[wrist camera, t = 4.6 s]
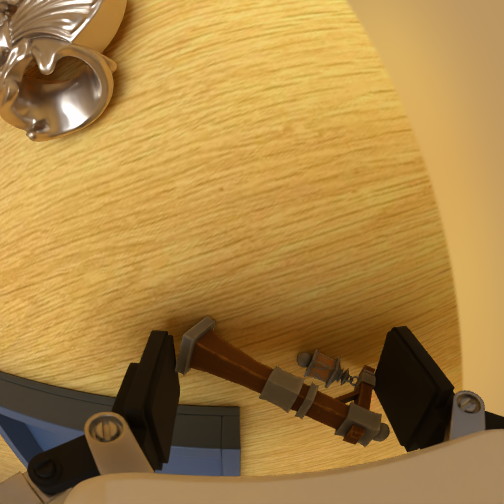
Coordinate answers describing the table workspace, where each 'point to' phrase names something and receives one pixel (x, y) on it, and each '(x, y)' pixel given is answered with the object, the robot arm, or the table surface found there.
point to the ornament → (46, 56)
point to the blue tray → (86, 405)
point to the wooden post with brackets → (289, 383)
